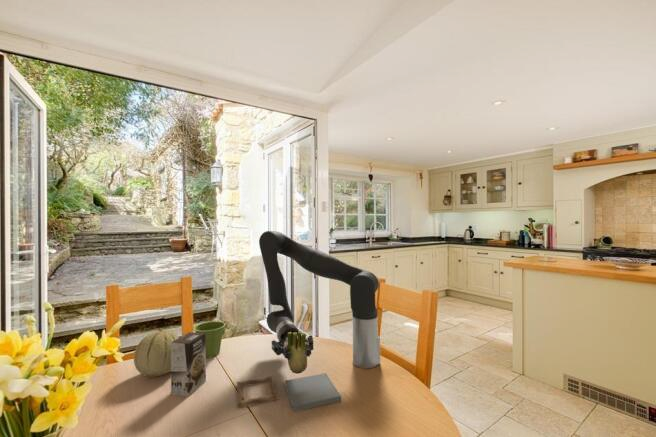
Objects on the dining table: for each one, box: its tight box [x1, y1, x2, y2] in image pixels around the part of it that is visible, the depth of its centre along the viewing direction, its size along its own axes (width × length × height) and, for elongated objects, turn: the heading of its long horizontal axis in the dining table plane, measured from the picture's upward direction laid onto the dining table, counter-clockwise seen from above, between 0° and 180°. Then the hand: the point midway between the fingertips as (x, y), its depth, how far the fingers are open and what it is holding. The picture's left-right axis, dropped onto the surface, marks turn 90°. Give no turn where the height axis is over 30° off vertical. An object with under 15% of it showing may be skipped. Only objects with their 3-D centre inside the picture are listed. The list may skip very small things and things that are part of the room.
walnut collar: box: [236, 375, 278, 408], centre depth 92 cm, size 11×12×1 cm
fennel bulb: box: [287, 331, 308, 375], centre depth 92 cm, size 6×5×12 cm
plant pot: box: [193, 320, 226, 358], centre depth 120 cm, size 12×12×11 cm
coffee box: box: [170, 332, 207, 397], centre depth 95 cm, size 9×6×16 cm
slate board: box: [284, 372, 342, 412], centre depth 92 cm, size 14×14×2 cm
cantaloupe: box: [133, 328, 180, 378], centre depth 104 cm, size 15×15×15 cm
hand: (299, 354), depth 90 cm, fingers closed on fennel bulb, 5 cm apart
